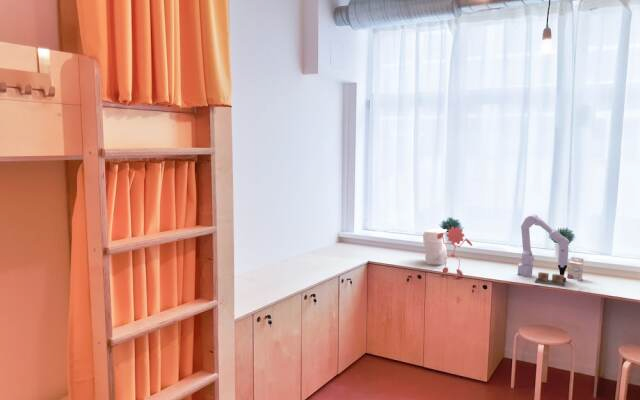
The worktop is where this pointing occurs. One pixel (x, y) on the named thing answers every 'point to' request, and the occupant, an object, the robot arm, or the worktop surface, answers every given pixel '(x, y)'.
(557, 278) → the block
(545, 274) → the block
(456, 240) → the figurine
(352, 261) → the worktop surface
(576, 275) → the ink cartridge box
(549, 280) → the grey divided tray
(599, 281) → the worktop surface
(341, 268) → the worktop surface
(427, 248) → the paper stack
